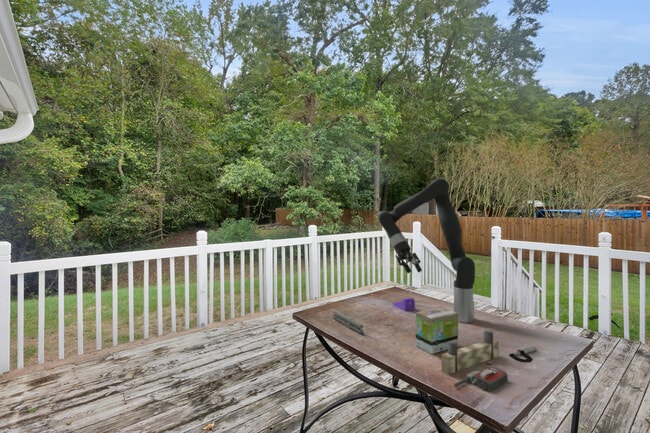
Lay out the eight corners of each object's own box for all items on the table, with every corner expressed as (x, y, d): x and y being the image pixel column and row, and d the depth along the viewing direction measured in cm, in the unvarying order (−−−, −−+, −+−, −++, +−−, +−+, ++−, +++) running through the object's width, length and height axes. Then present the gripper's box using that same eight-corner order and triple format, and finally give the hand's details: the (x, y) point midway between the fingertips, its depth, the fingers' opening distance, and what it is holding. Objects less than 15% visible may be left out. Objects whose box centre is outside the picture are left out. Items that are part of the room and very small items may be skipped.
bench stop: (491, 353, 130) (491, 328, 130) (499, 356, 127) (499, 331, 127) (441, 370, 117) (441, 343, 117) (448, 374, 114) (448, 346, 114)
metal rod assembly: (332, 319, 173) (332, 309, 173) (336, 318, 175) (336, 309, 174) (359, 335, 151) (359, 324, 151) (364, 334, 152) (364, 323, 152)
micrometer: (524, 365, 121) (524, 358, 121) (506, 357, 127) (506, 350, 127) (550, 357, 127) (550, 350, 126) (532, 350, 133) (532, 343, 133)
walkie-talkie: (486, 370, 117) (451, 388, 106) (485, 358, 117) (451, 375, 106) (510, 381, 110) (476, 401, 99) (510, 368, 110) (476, 387, 99)
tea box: (432, 355, 129) (432, 318, 129) (415, 345, 138) (414, 311, 138) (459, 347, 136) (458, 312, 136) (440, 338, 145) (440, 306, 145)
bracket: (414, 310, 186) (414, 298, 186) (404, 311, 184) (404, 299, 183) (402, 304, 197) (402, 293, 197) (392, 305, 195) (392, 294, 194)
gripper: (395, 240, 160) (411, 268, 151) (413, 240, 168) (429, 267, 160) (386, 248, 164) (400, 276, 156) (403, 248, 173) (418, 275, 165)
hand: (415, 272), depth 158 cm, fingers open, 8 cm apart
